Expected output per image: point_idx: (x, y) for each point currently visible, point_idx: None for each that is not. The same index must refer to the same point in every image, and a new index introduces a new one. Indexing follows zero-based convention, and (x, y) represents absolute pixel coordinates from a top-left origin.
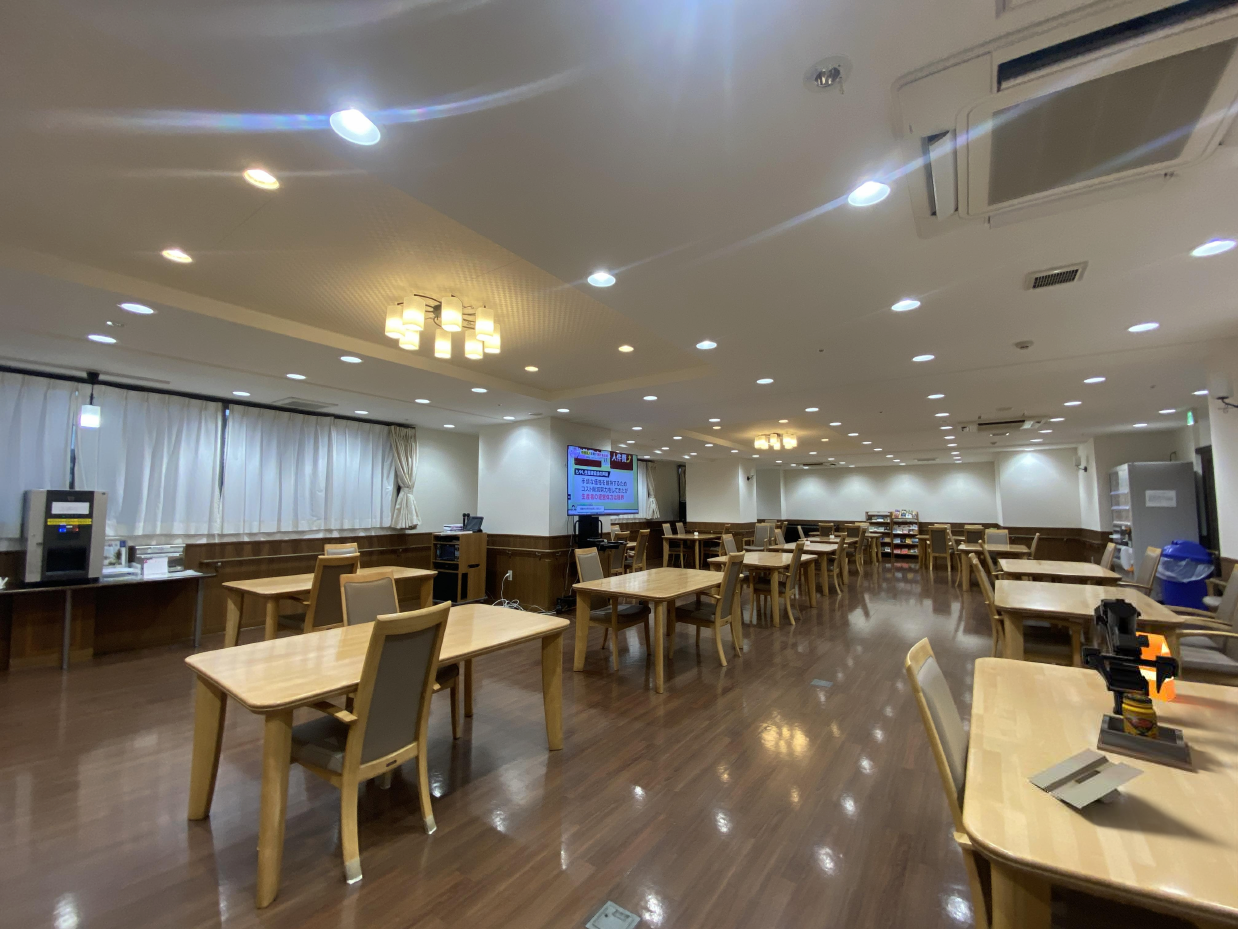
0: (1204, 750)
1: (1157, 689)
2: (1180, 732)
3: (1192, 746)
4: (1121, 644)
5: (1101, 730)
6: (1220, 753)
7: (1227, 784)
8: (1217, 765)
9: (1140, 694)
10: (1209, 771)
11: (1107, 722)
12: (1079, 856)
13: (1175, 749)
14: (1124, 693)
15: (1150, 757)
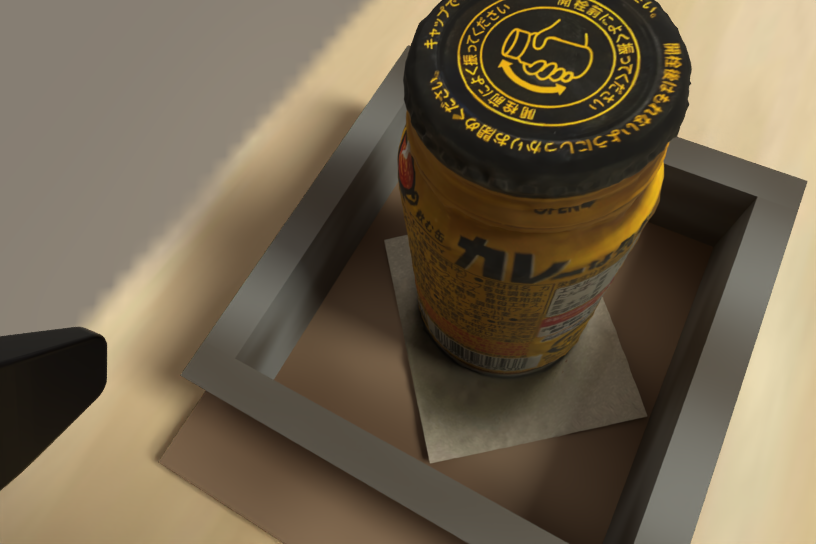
0: (135, 400)
1: (70, 343)
2: (236, 309)
3: (155, 453)
4: None
5: (796, 181)
6: None
7: (363, 11)
8: (245, 191)
9: (461, 129)
10: (342, 109)
11: (704, 361)
12: None
13: None
14: (663, 112)
15: None
